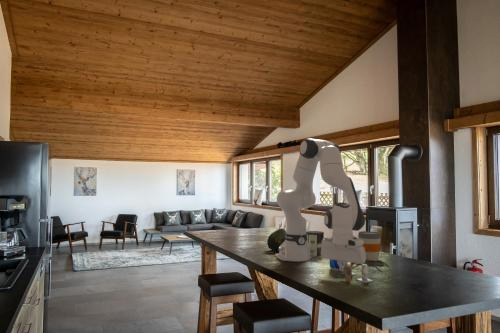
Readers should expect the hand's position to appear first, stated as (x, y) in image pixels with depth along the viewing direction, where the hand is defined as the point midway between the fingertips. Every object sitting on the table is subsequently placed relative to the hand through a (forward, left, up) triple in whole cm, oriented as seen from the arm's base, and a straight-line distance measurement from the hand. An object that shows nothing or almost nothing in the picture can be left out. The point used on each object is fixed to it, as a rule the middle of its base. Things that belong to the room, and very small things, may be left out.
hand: (342, 271), depth 168 cm
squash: (-74, +4, -4) cm, 74 cm away
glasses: (-16, +27, -4) cm, 32 cm away
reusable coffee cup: (-33, +41, -4) cm, 53 cm away
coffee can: (-52, +17, -4) cm, 55 cm away
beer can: (-17, +9, -4) cm, 19 cm away
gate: (0, +3, -3) cm, 4 cm away
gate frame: (0, +8, -4) cm, 9 cm away
